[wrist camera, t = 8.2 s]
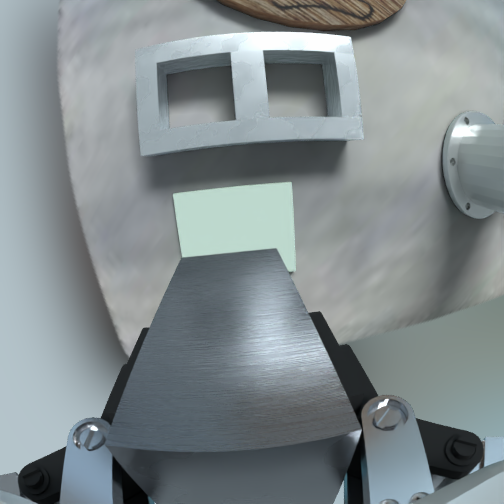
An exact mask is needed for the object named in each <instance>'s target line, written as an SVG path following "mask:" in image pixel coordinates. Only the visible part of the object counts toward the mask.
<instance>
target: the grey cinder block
mask: <svg viewBox="0 0 504 504" xmlns="http://www.w3.org/2000/svg"><path fill="white" fill-rule="evenodd" d="M276 63H296V64H322V70H323V78H324V86H325V94H326V104H327V114H328V117H278V118H270V116H269V105H268V95H267V84H266V75H265V65H264V64H276ZM135 64H136V98H137V116H138V130H139V142H140V152H141V156H158V155H164V154H170V153H176V152H183V151H190V150H198V149H206V148H214V147H224V146H234V145H245V144H258V143H273V142H294V141H351V140H360V139H364V135H363V123H362V112H361V102H360V93H359V85H358V78H357V71H356V64H355V58H354V52H353V46H352V41H351V37H347V36H339V35H329V34H317V33H301V32H250V33H234V34H222V35H212V36H204V37H196V38H190V39H183V40H178V41H172V42H167V43H162V44H157V45H153V46H148V47H144V48H140V49H136V50H135ZM223 66H231V73H232V84H233V96H234V107H235V119H236V120H233V121H223V122H214V123H205V124H198V125H190V126H183V127H177V128H171V129H170V123H169V110H168V95H167V76H166V75H167V74H172V73H178V72H184V71H191V70H198V69H205V68H214V67H223Z"/></svg>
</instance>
